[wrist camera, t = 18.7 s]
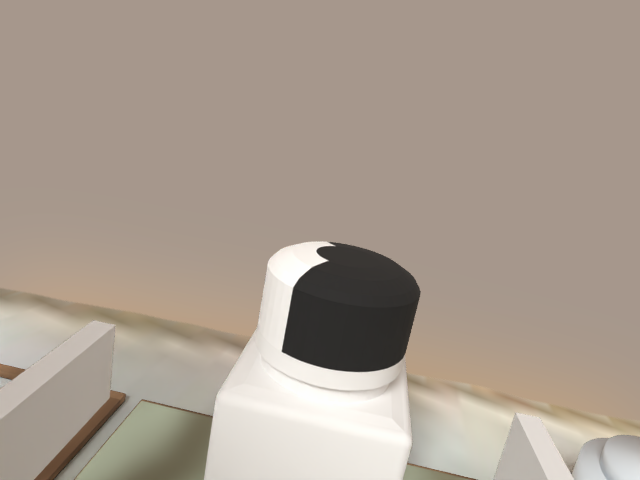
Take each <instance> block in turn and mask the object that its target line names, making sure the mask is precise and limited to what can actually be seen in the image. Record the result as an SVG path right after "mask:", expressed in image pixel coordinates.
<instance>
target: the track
mask: <svg viewBox="0 0 640 480" xmlns="http://www.w3.org/2000/svg"><path fill="white" fill-rule="evenodd" d="M212 420H213V416H210V415H205V414H201V413H197V412H193V411H189V410H185V409H180V408H176V407H172V406H168V405H164V404H160V403H155V402H151V401H147V400H143V399H142V400H141V401H140V402H139V403H138V404H137V406H136V407H135V408H134V409H133V410H132V411H131V413H130V414H129V415H128V416H127V417H126V419H125V420H124V421H123V422H122V423H121V424H120V426H119V427H118V428H117V429H116V430H115V432H114V433H113V434H112V435H111V436H110V437H109V439H108V440H107V441H106V442H105V443H104V445H103V446H102V447H101V448H100V449H99V450H98V452H97V453H96V454H95V455H94V456H93V458H92V459H91V460H90V461H89V462H88V463H87V465H86V466H85V467H84V468H83V469H82V471H81V472H80V473H79V474H78V475H77V476H76V478H75V479H74V480H204V475H205V468H206V461H207V454H208V447H209V440H210V433H211V427H212ZM403 480H476V479H472V478H468V477H464V476H460V475H456V474H451V473H447V472H443V471H439V470H435V469H431V468H426V467H422V466H418V465H414V464H410V463H407V466H406V470H405V473H404V477H403Z"/></svg>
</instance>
